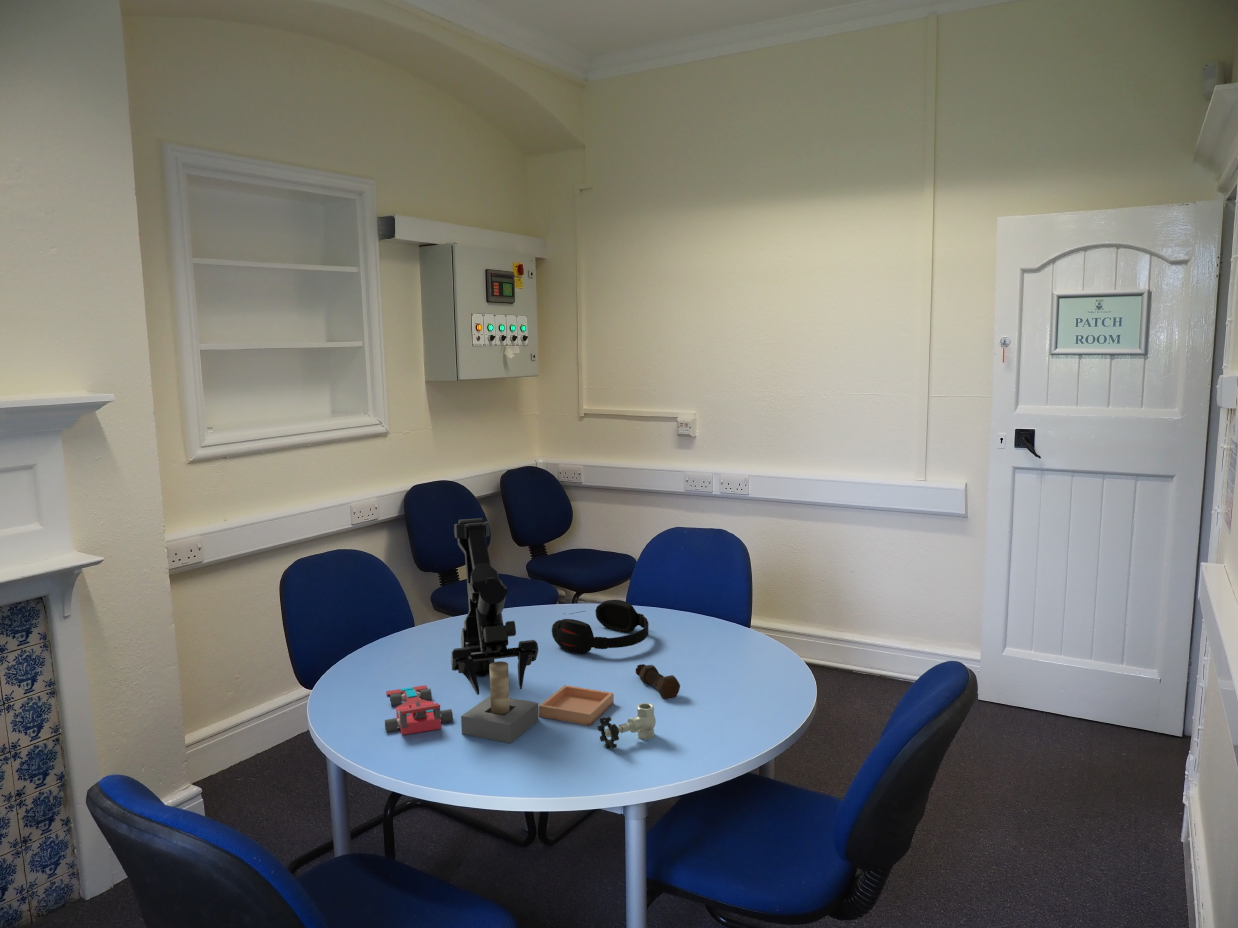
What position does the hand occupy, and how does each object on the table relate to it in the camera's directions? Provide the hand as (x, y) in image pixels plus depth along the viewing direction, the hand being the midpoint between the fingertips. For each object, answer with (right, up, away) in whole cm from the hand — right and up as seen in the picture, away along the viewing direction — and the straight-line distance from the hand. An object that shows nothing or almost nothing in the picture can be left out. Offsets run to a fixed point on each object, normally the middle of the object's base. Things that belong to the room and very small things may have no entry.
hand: (499, 691), depth 180 cm
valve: (+28, -9, -6) cm, 30 cm away
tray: (+16, -7, +9) cm, 20 cm away
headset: (+20, -1, +57) cm, 60 cm away
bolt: (+34, -5, +22) cm, 41 cm away
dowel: (0, -8, +1) cm, 8 cm away
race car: (-21, -8, +11) cm, 25 cm away
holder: (0, -8, +1) cm, 8 cm away
